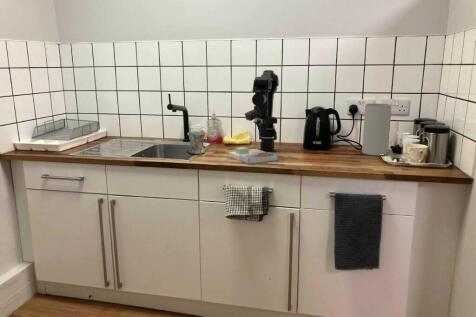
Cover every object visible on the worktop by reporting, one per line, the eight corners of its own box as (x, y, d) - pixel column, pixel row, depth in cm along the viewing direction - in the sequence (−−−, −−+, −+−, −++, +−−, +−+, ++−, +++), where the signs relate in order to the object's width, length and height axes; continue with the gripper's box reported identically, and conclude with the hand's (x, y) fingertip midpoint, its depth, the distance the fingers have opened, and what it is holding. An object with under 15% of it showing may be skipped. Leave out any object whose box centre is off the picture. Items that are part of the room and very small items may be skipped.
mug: (191, 150, 213) (190, 131, 211) (208, 151, 212) (207, 131, 209) (183, 155, 202) (183, 135, 200) (201, 156, 200) (200, 135, 198)
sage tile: (244, 151, 201) (244, 146, 201) (248, 153, 197) (248, 148, 197) (235, 152, 199) (235, 147, 199) (240, 154, 195) (240, 149, 194)
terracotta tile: (266, 157, 197) (266, 152, 197) (271, 159, 193) (272, 154, 192) (257, 158, 195) (257, 153, 194) (263, 160, 190) (263, 155, 190)
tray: (267, 156, 199) (267, 151, 199) (277, 160, 191) (277, 155, 191) (239, 160, 192) (239, 155, 191) (248, 164, 184) (248, 159, 184)
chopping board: (256, 152, 209) (256, 148, 208) (267, 156, 199) (267, 152, 199) (229, 155, 201) (229, 152, 201) (239, 160, 192) (239, 156, 191)
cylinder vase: (376, 157, 198) (380, 106, 192) (356, 152, 208) (359, 104, 202) (392, 154, 204) (396, 105, 198) (372, 149, 214) (376, 103, 209)
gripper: (237, 103, 194) (237, 135, 197) (257, 106, 178) (257, 141, 181) (257, 102, 199) (257, 133, 202) (278, 105, 183) (277, 138, 186)
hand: (261, 136), depth 193 cm, fingers closed
